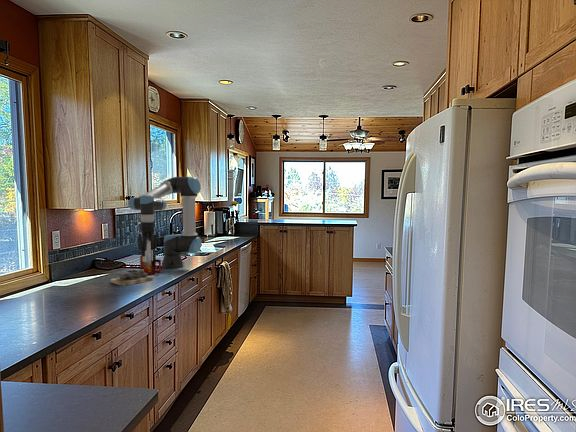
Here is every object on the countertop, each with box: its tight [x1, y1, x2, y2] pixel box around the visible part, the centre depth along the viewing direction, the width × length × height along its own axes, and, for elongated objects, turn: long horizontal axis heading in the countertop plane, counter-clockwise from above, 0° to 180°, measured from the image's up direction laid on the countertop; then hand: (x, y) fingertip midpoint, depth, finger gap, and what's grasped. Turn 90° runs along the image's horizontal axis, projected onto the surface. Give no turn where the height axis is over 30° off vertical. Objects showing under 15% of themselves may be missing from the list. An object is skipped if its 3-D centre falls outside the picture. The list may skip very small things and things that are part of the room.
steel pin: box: [145, 240, 151, 265], centre depth 227 cm, size 4×4×14 cm
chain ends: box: [110, 268, 154, 287], centre depth 231 cm, size 19×14×6 cm
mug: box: [139, 254, 162, 276], centre depth 253 cm, size 10×14×12 cm
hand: (147, 260), depth 227 cm, fingers closed on steel pin, 3 cm apart
